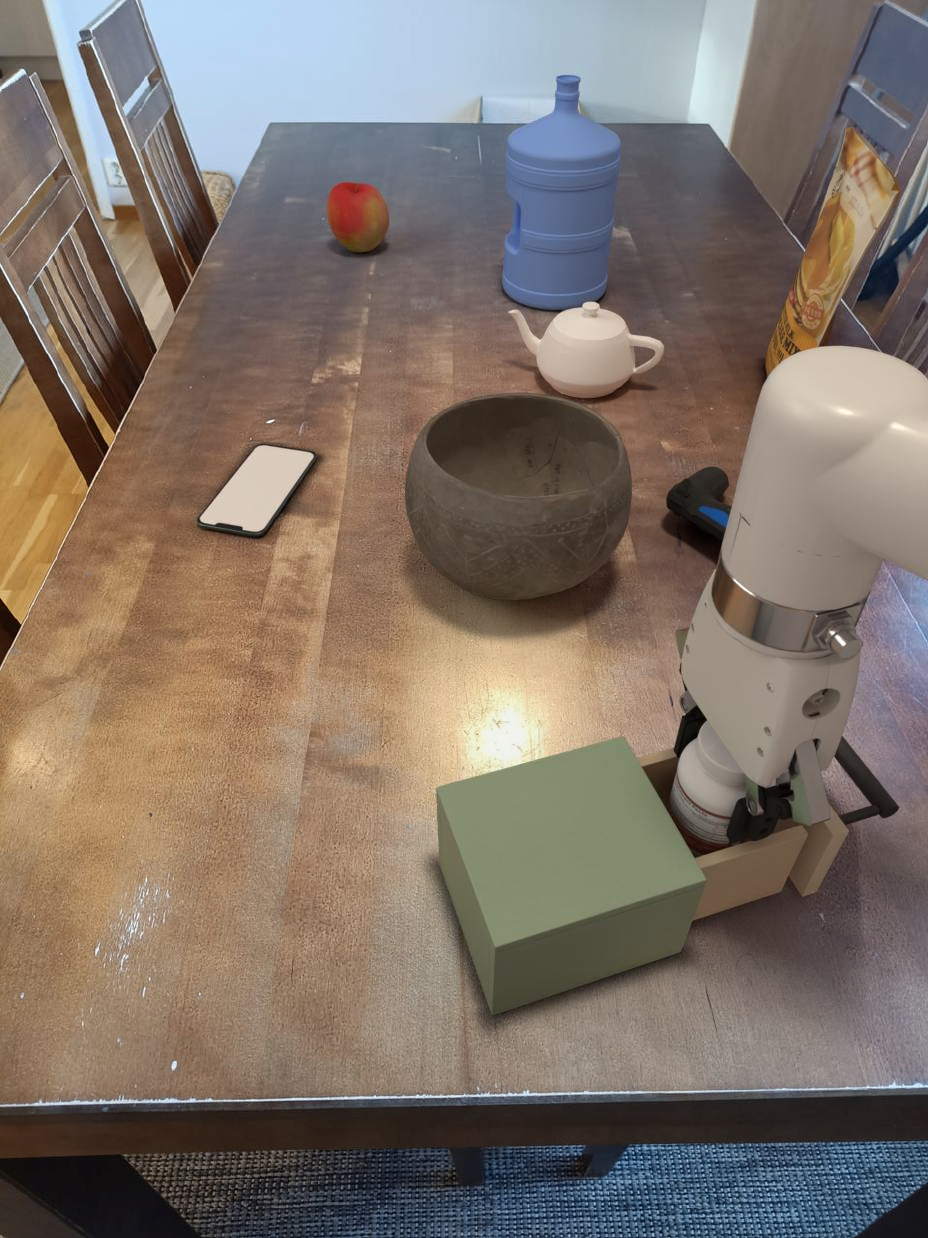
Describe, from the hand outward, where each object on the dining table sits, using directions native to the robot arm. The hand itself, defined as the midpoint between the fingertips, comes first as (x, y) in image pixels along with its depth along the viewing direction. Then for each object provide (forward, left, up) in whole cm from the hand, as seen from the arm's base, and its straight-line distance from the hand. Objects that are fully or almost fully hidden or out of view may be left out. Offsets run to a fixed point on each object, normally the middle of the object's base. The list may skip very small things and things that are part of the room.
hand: (721, 789), depth 59 cm
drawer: (0, -3, -8) cm, 9 cm away
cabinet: (0, +11, -9) cm, 14 cm away
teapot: (+67, -20, -10) cm, 71 cm away
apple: (+117, -3, -10) cm, 117 cm away
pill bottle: (0, 0, -6) cm, 6 cm away
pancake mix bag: (+57, -45, -10) cm, 73 cm away
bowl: (+35, +1, -10) cm, 36 cm away
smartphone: (+56, +23, -9) cm, 61 cm away
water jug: (+93, -27, -10) cm, 97 cm away
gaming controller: (+32, -22, -10) cm, 40 cm away
